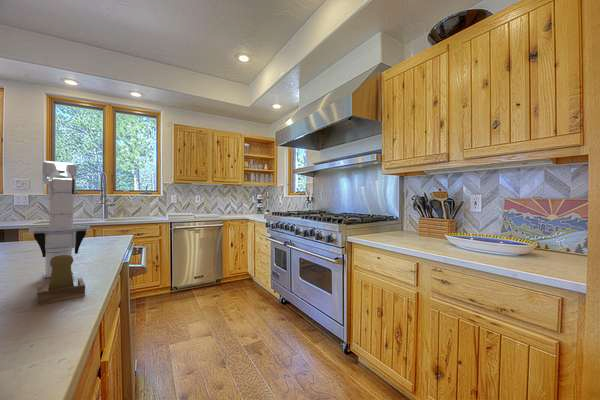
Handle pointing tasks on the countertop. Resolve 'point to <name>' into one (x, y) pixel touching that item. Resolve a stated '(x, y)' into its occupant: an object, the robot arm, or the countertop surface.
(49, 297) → the spice rack
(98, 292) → the countertop surface
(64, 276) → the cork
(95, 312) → the countertop surface
